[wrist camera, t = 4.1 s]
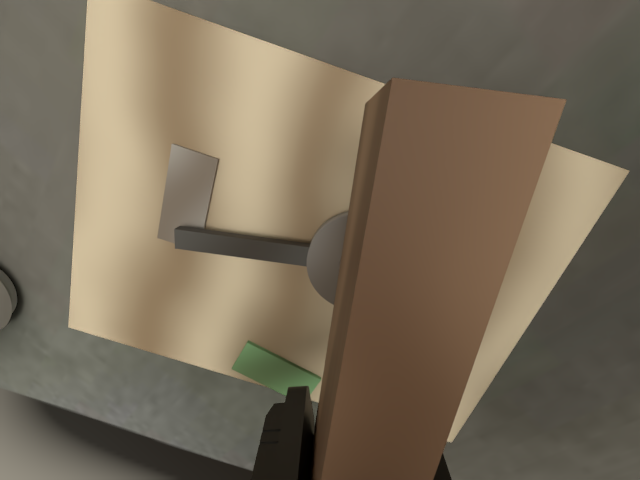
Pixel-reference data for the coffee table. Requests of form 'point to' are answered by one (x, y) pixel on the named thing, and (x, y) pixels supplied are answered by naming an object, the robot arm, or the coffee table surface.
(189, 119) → the wooden lever base
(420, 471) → the peg key
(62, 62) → the coffee table surface
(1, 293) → the energy drink can
